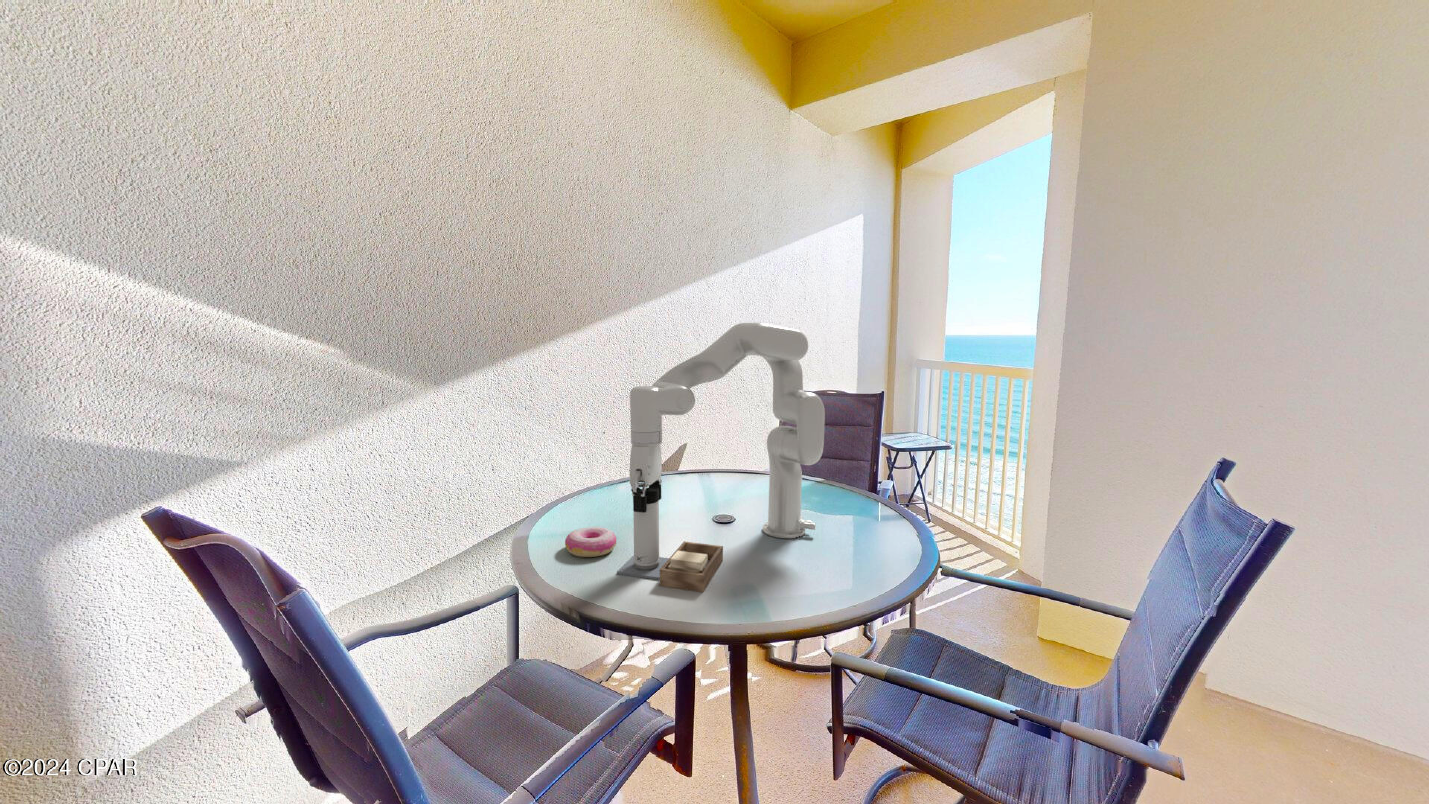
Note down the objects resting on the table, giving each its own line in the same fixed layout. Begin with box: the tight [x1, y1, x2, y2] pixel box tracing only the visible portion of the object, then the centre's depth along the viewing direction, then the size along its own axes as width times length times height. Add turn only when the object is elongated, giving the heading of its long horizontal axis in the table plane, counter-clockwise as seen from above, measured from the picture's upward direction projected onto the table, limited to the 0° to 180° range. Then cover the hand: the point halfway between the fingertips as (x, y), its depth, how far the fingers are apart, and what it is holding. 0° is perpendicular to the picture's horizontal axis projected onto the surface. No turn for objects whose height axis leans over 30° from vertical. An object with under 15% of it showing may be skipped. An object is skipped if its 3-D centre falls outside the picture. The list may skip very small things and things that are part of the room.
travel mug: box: [633, 487, 660, 570], centre depth 133 cm, size 6×7×20 cm
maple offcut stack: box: [668, 551, 709, 573], centre depth 127 cm, size 8×5×6 cm, turn 75°
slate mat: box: [616, 554, 670, 581], centre depth 134 cm, size 11×11×1 cm
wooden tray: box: [659, 541, 724, 593], centre depth 131 cm, size 11×18×4 cm, turn 165°
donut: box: [564, 526, 617, 558], centre depth 144 cm, size 14×13×5 cm
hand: (647, 505), depth 132 cm, fingers open, 9 cm apart
